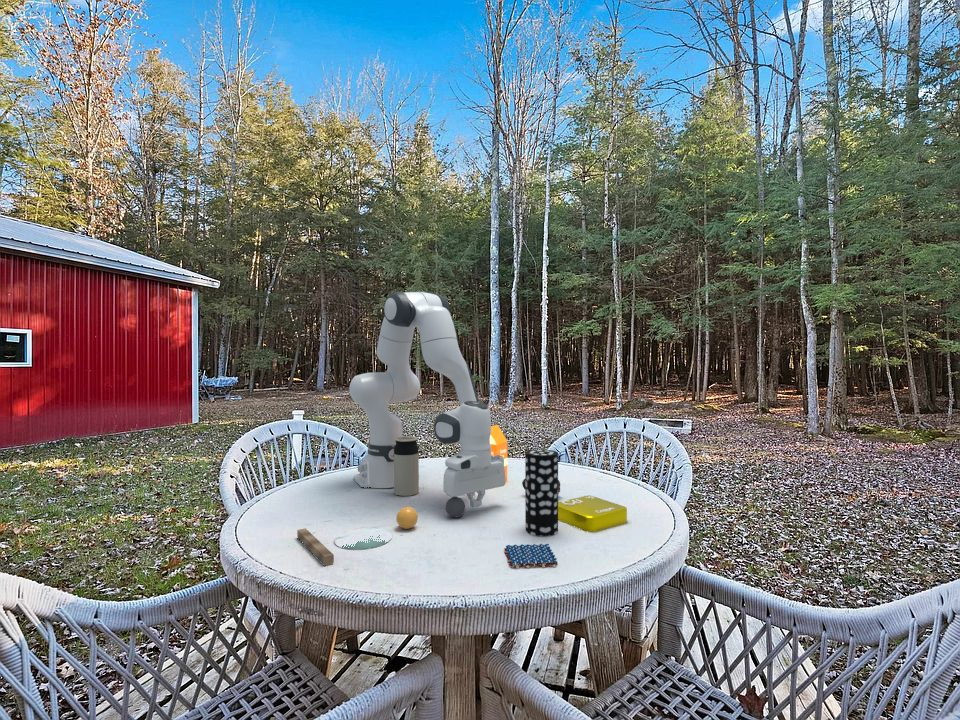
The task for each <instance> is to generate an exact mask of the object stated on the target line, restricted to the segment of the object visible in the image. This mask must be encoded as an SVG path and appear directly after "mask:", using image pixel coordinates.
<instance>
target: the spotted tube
mask: <svg viewBox="0 0 960 720" xmlns="http://www.w3.org/2000/svg"><path fill="white" fill-rule="evenodd" d="M524 457H525V458H524V459H525V461H524V463H525V467H524V468H525V470H524V471H525V473H524V474H525V478H524V479H525V489H524V490H525V491H524V493H525V495H524V496H525V499H524V500H525V501H524V502H525V503H524V504H525V505H524V506H525V508H524V509H525V513H524V514H525V515H524V516H525V532H526V533H527V534H530V535H533V536H535V535H536V536H537V537H550V536H551V537H552V536H555V535H556V534H558V533H559V520H558V502H559V494H558V480H559V452H558V451H555V450H551V449H543V448H542V449H539V448H537V449H530V450H526V451H525V456H524Z"/></svg>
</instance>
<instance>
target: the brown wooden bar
mask: <svg viewBox="0 0 960 720" xmlns="http://www.w3.org/2000/svg"><path fill="white" fill-rule="evenodd" d="M296 535H297V537H298V538H299V539H300V540H301V541H302V542H303V543H304V544H305V545H304V544H303V543H302V542H301V541H300V540H299V539H298V538H297V537H296V538H297V539H298V540H299V541H300V542H301V543H302V544H303V545H304V546H306V547H307V548H308V549H309V550H310V551H311V552H312V553H313V554H314V555H315V556H316V557H317V558H318V559H319V560H320V561H321V562H322V563H323V564H324V565H323V564H322V563H321V562H320V561H319V560H318V559H317V558H316V557H315V556H314V555H313V554H312V553H311V552H310V551H309V550H308V549H307V548H306V549H307V550H308V551H309V552H310V553H311V554H312V555H313V556H314V557H315V558H316V559H317V560H318V561H319V562H320V563H321V564H322V565H323V567H326V566H325V565H327V566H330V565H329V564H331V565H334V564H335V563H334V562H335V558H334V557H335V555H334V553H332V551H331V550H330V549H328V548H327V547H326V545H324V544H323V543H322V542H321V541H320V540H318V538H317V537H315V536H314V535H313V534H312V533H311V532H310V531H309V530H308V529H307V528H301V529H297V534H296ZM333 563H334V564H333Z"/></svg>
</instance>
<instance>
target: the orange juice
mask: <svg viewBox="0 0 960 720" xmlns="http://www.w3.org/2000/svg"><path fill="white" fill-rule="evenodd" d="M490 444H491V456H495V455H500V456H502V457H503V458H504V467H505V474H506V483H507V482H508V439H507V438H506V437H505V434H504V433H503V431H502V429H501V428H500V426H499V425H498V424H496V425H491V435H490ZM500 458H501V457H500Z"/></svg>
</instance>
